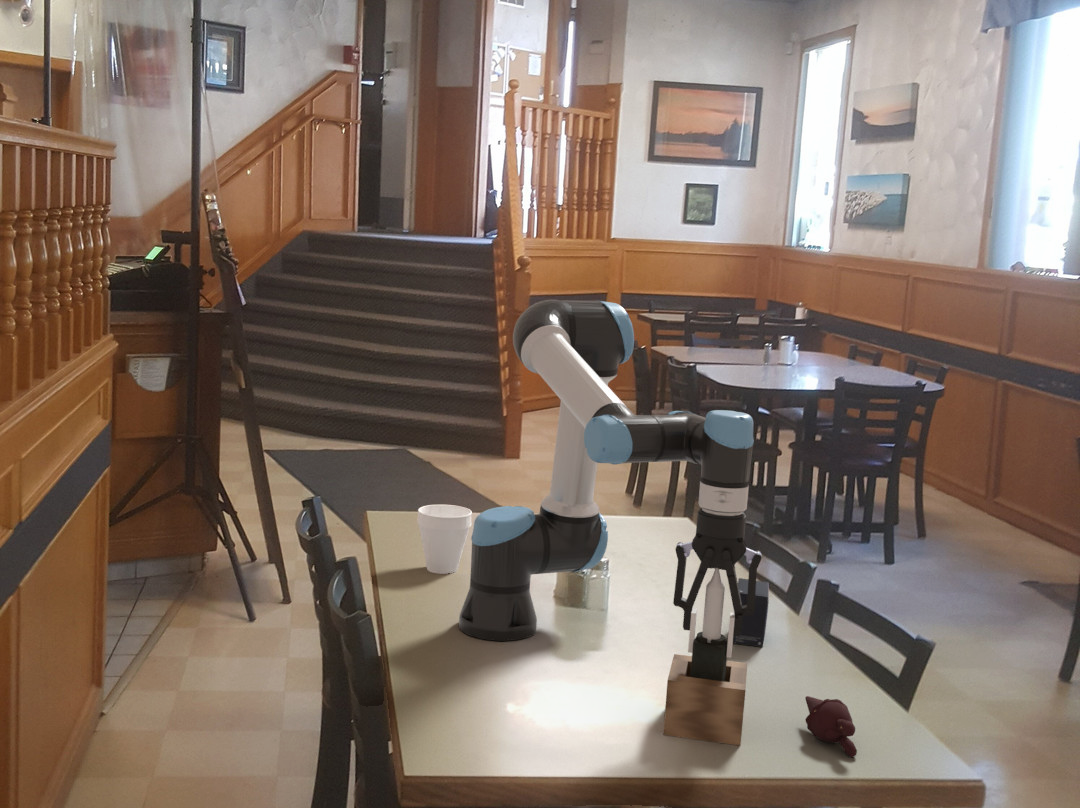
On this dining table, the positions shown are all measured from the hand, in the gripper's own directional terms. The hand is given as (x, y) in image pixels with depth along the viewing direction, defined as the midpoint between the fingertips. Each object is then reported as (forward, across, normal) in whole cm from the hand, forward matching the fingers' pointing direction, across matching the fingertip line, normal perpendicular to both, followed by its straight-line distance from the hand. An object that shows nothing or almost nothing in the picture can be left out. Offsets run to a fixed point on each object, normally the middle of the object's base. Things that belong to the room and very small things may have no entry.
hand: (709, 651), depth 187 cm
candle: (+11, 0, 0) cm, 11 cm away
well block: (+12, 0, 0) cm, 12 cm away
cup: (+13, -63, +67) cm, 93 cm away
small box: (+13, +6, +46) cm, 48 cm away
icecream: (+12, +19, +1) cm, 23 cm away
